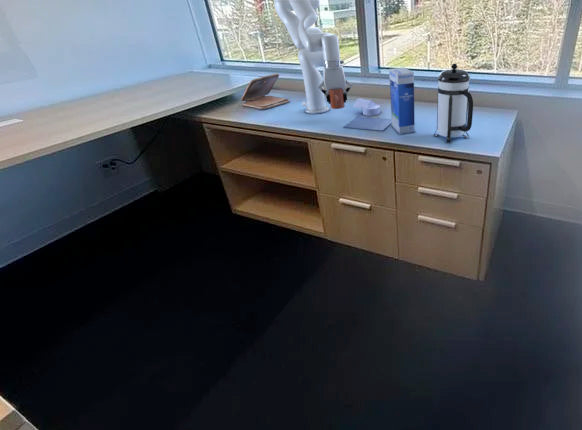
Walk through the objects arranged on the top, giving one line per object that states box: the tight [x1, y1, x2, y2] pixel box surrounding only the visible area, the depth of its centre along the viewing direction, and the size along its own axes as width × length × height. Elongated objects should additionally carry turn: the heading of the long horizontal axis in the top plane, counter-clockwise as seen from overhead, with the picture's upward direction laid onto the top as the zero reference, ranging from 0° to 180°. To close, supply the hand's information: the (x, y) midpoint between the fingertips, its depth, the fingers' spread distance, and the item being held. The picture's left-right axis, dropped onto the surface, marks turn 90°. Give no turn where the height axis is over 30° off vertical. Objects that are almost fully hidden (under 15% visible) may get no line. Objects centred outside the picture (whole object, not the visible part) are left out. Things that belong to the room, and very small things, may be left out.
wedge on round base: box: [352, 97, 381, 117], centre depth 197 cm, size 9×7×13 cm
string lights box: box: [388, 66, 416, 135], centre depth 168 cm, size 13×8×26 cm, turn 17°
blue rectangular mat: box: [343, 116, 392, 132], centre depth 183 cm, size 20×16×1 cm
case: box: [240, 73, 290, 110], centre depth 217 cm, size 20×21×16 cm
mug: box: [328, 89, 346, 110], centre depth 182 cm, size 10×7×9 cm
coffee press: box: [433, 63, 474, 143], centre depth 155 cm, size 17×16×30 cm
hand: (337, 102), depth 184 cm, fingers closed on mug, 7 cm apart
